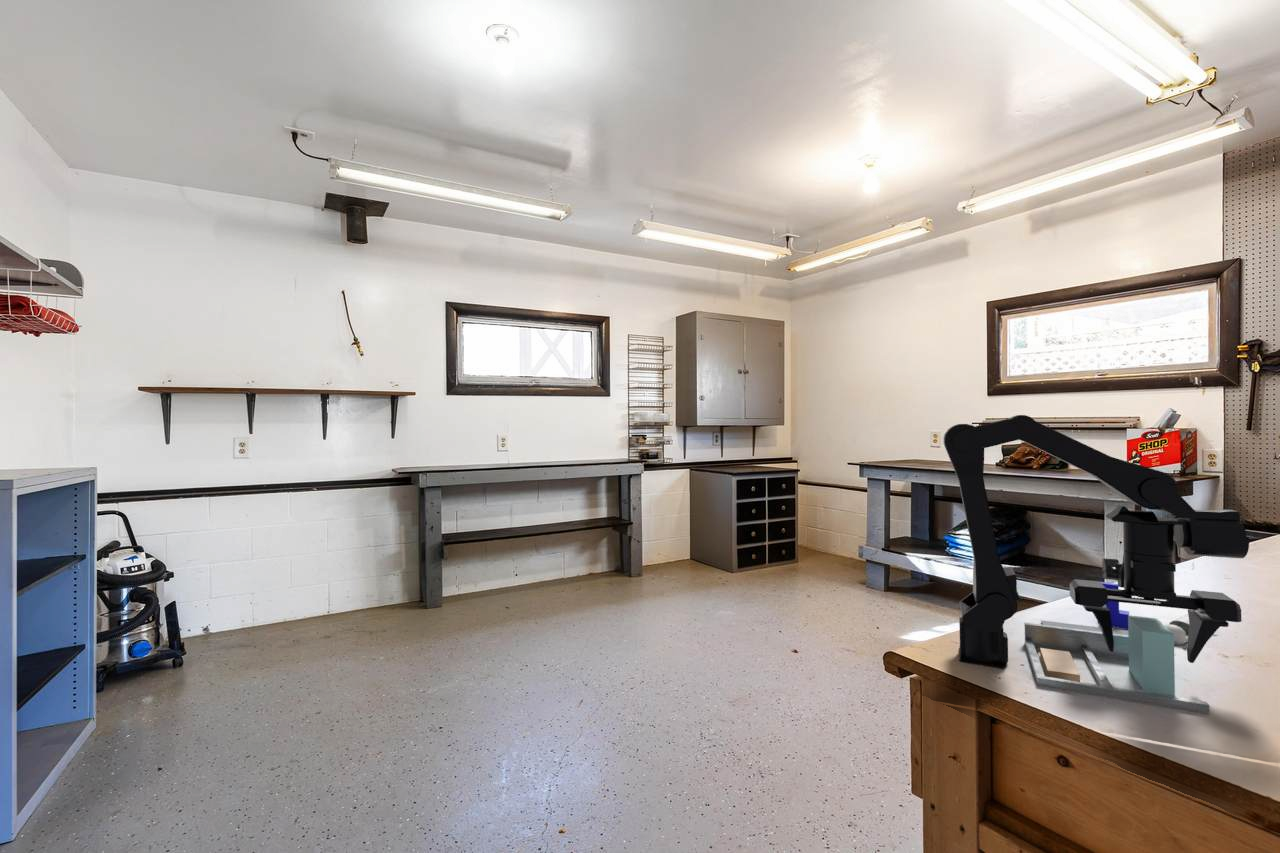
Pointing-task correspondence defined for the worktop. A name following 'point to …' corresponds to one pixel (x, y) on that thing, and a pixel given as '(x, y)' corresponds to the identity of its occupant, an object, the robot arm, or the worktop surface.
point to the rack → (1094, 665)
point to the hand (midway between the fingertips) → (1149, 656)
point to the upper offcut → (1059, 664)
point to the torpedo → (1179, 629)
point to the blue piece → (1116, 610)
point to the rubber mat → (1081, 627)
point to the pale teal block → (1151, 654)
